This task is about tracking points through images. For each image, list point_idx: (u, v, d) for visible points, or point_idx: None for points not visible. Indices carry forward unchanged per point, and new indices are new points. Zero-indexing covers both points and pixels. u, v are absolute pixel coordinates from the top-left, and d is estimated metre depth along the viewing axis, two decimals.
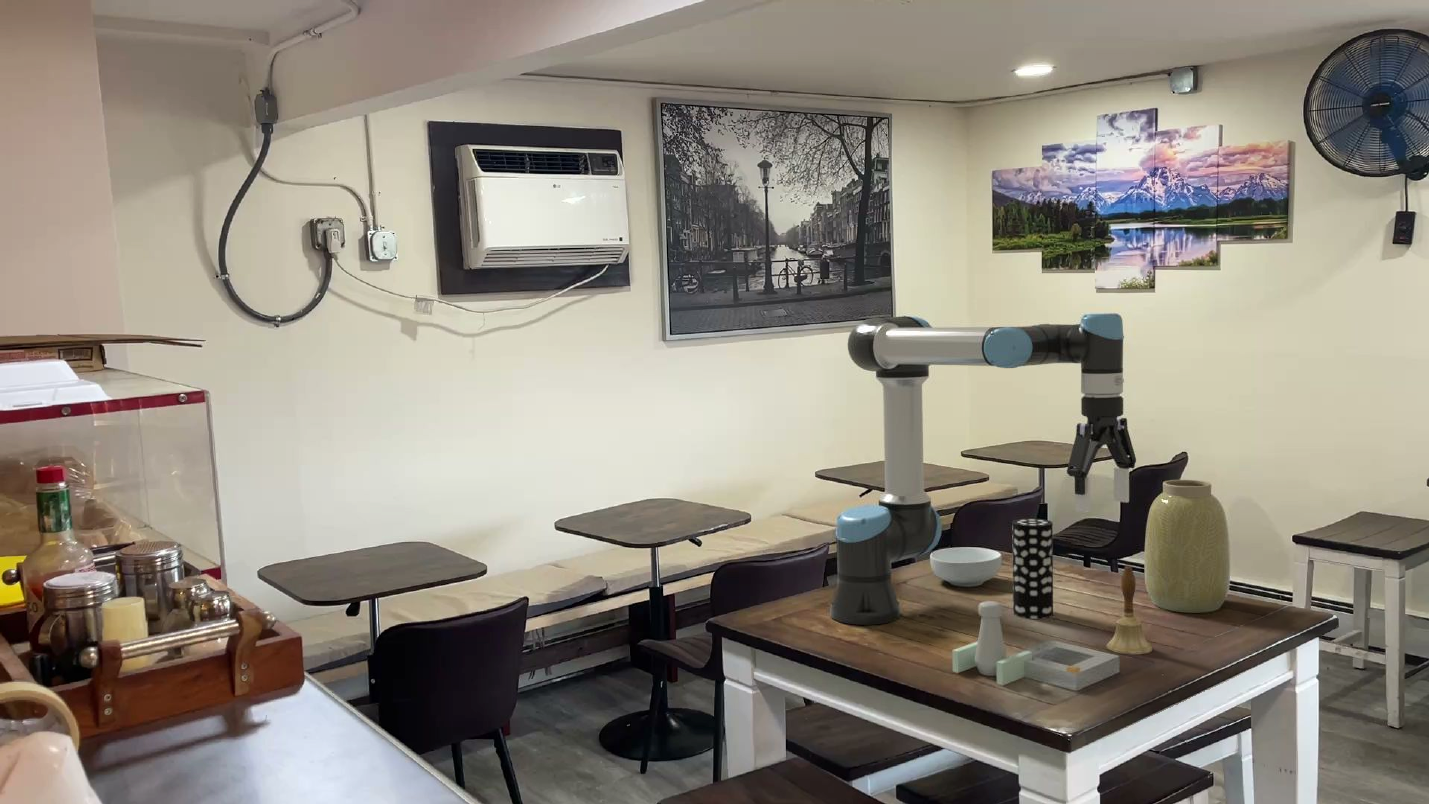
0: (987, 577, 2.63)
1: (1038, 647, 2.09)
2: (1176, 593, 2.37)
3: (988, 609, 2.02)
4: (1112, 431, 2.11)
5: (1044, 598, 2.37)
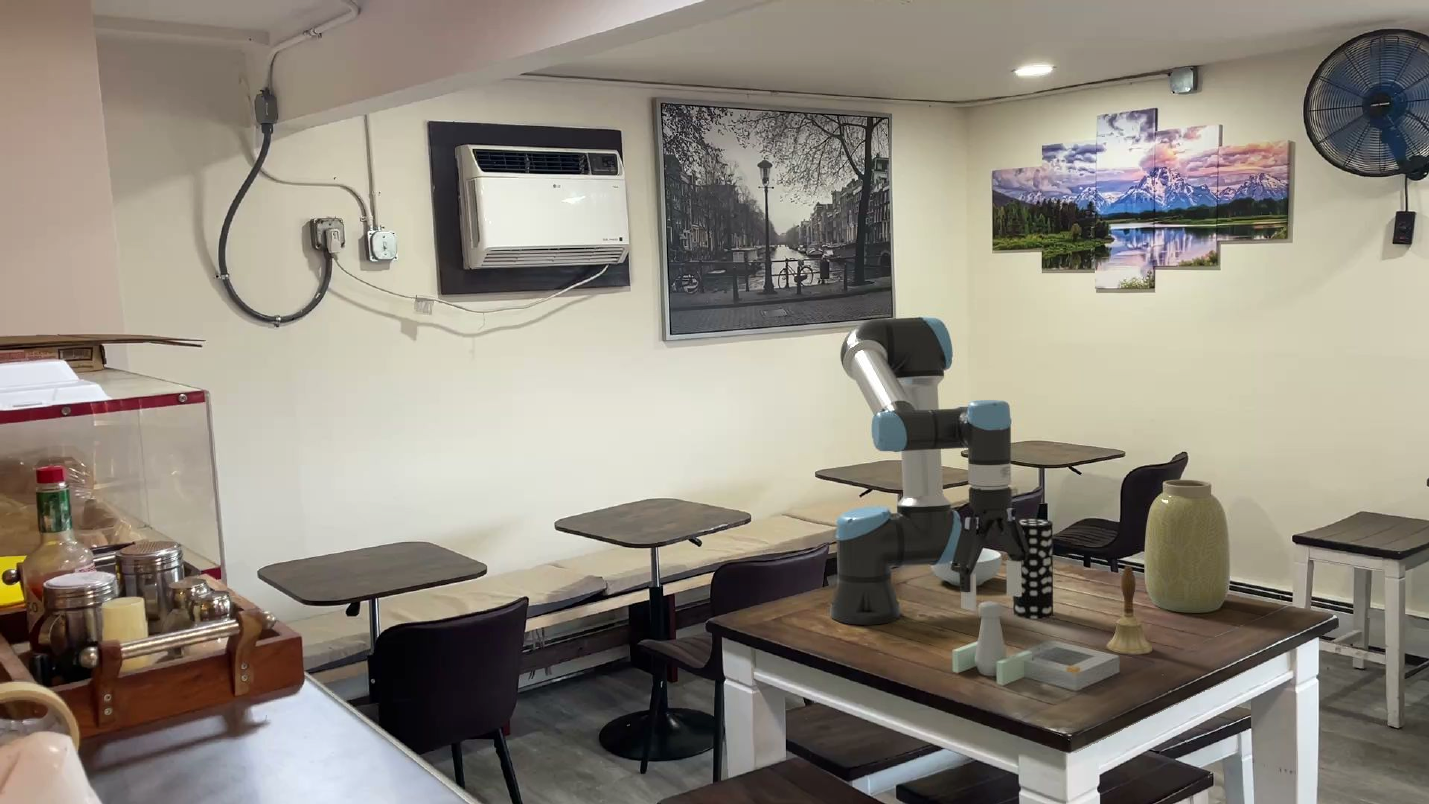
0: (987, 577, 2.63)
1: (1038, 647, 2.09)
2: (1176, 593, 2.37)
3: (988, 609, 2.02)
4: (1000, 524, 2.01)
5: (1044, 598, 2.37)
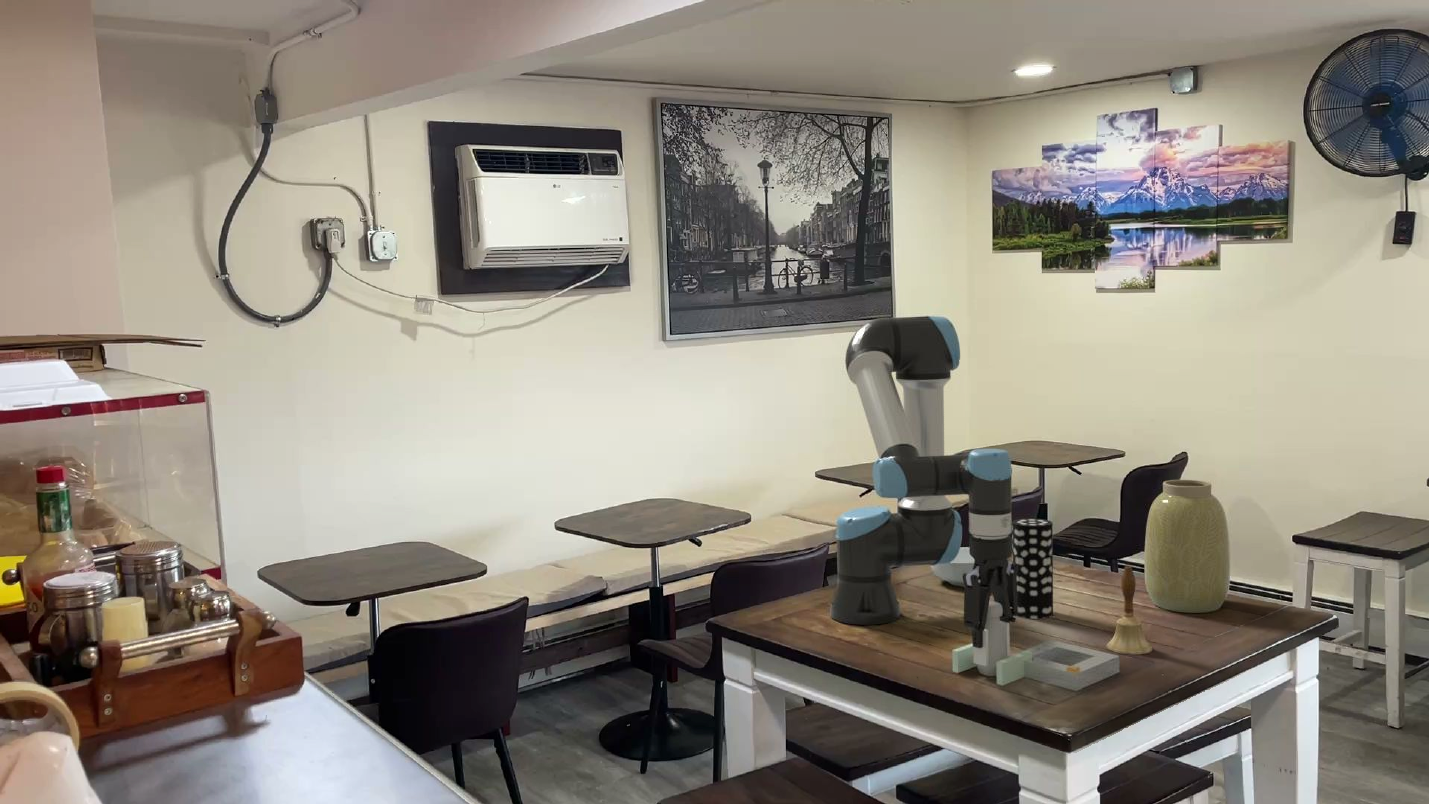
0: None
1: (1038, 647, 2.09)
2: (1176, 593, 2.37)
3: (989, 609, 2.02)
4: (1000, 571, 2.02)
5: (1044, 598, 2.37)
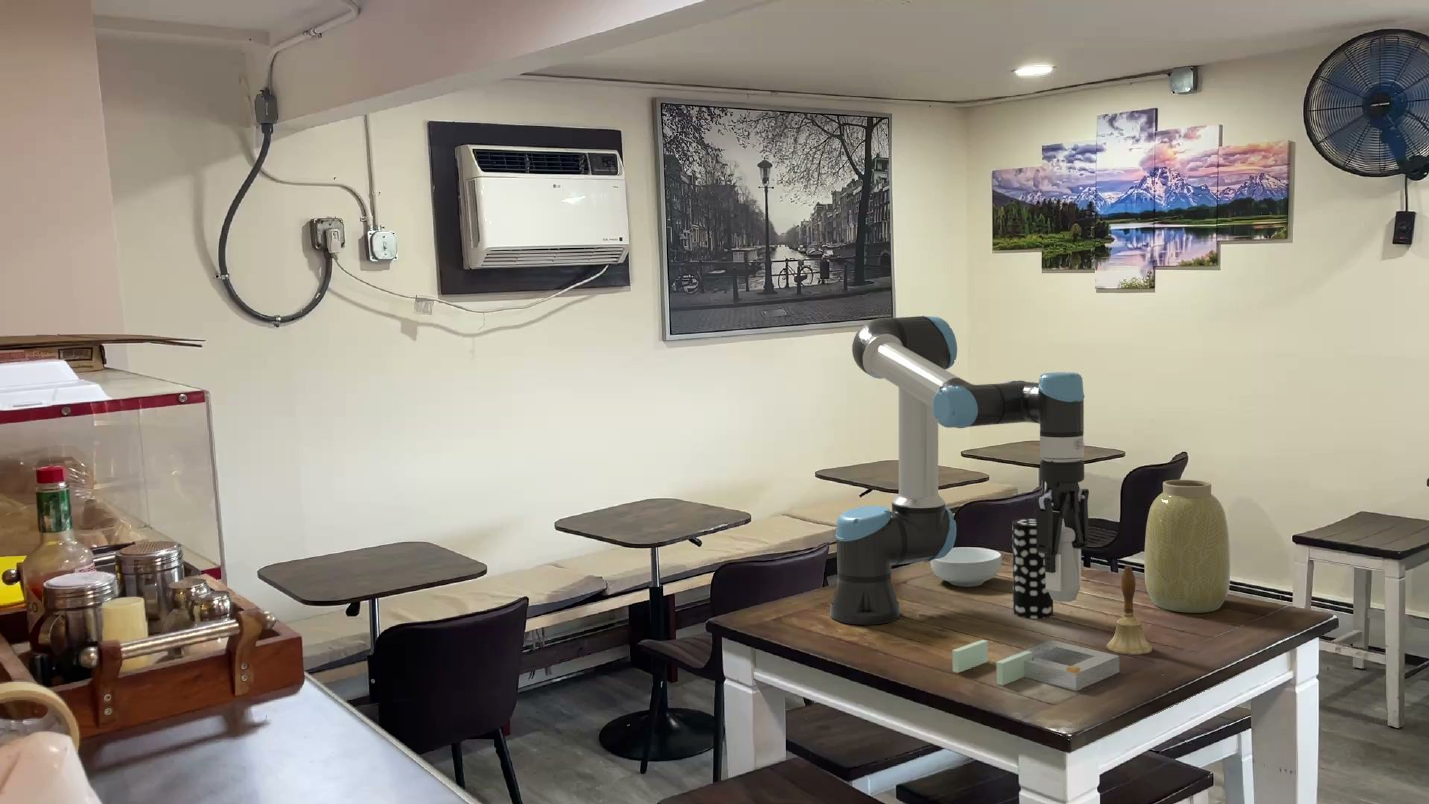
0: (987, 577, 2.63)
1: (1038, 647, 2.09)
2: (1176, 593, 2.37)
3: (1061, 533, 1.99)
4: (1072, 496, 2.00)
5: (1044, 598, 2.37)
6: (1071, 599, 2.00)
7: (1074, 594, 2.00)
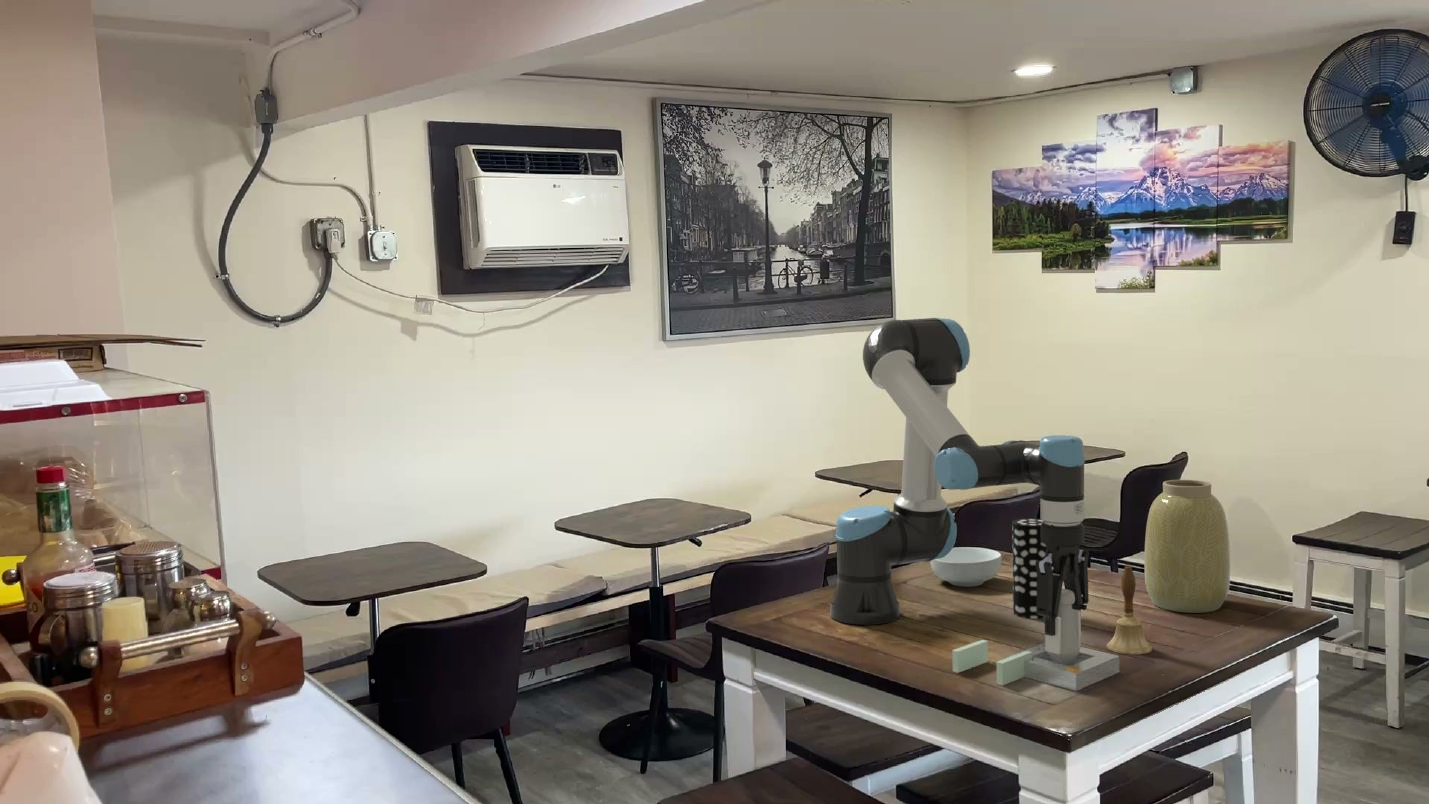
0: (987, 577, 2.63)
1: (1038, 647, 2.09)
2: (1176, 593, 2.37)
3: (1061, 596, 2.00)
4: (1072, 559, 2.01)
5: None
6: (1071, 661, 2.01)
7: (1074, 657, 2.01)
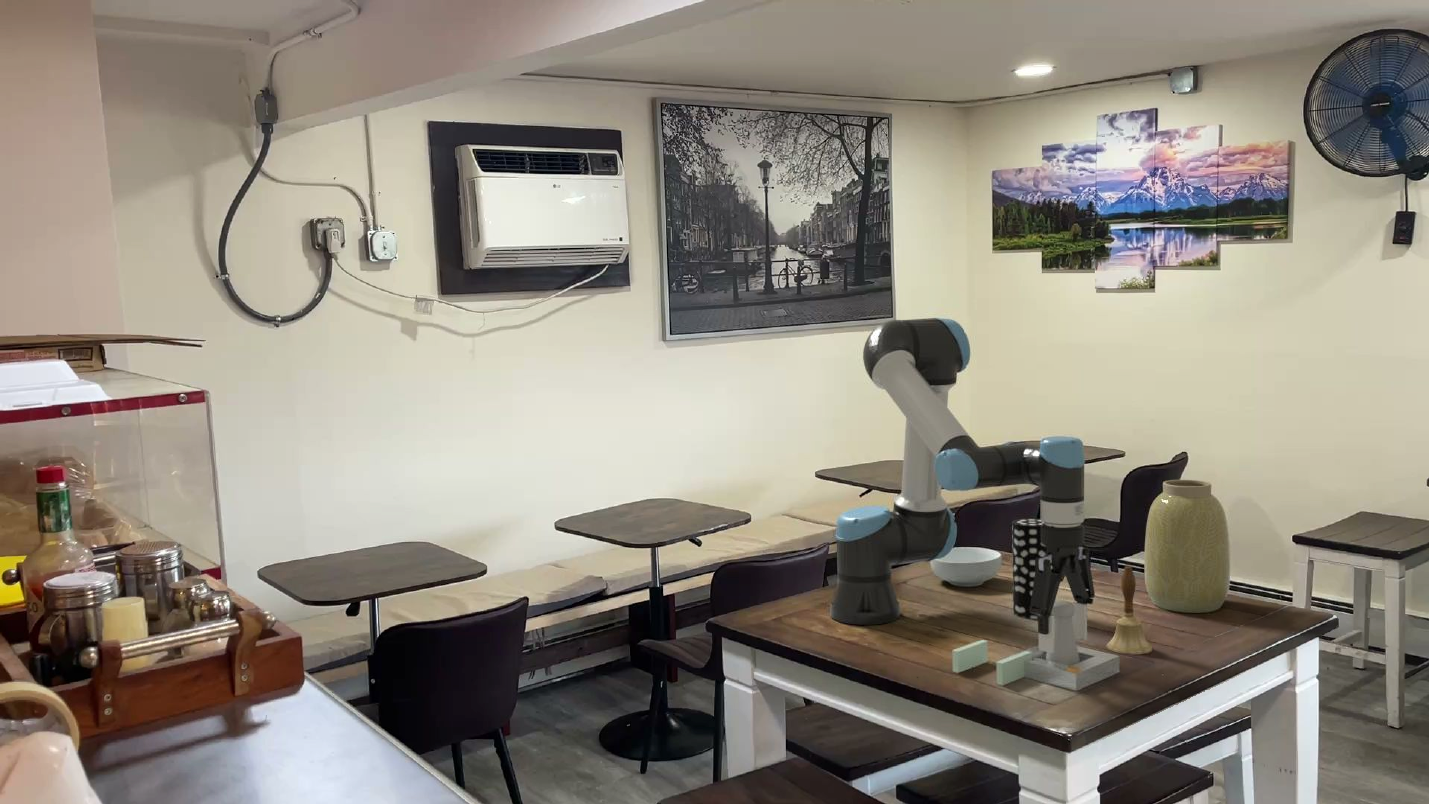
0: (987, 577, 2.63)
1: (1038, 647, 2.09)
2: (1176, 593, 2.37)
3: (1061, 608, 2.01)
4: (1073, 560, 2.01)
5: None
6: None
7: None
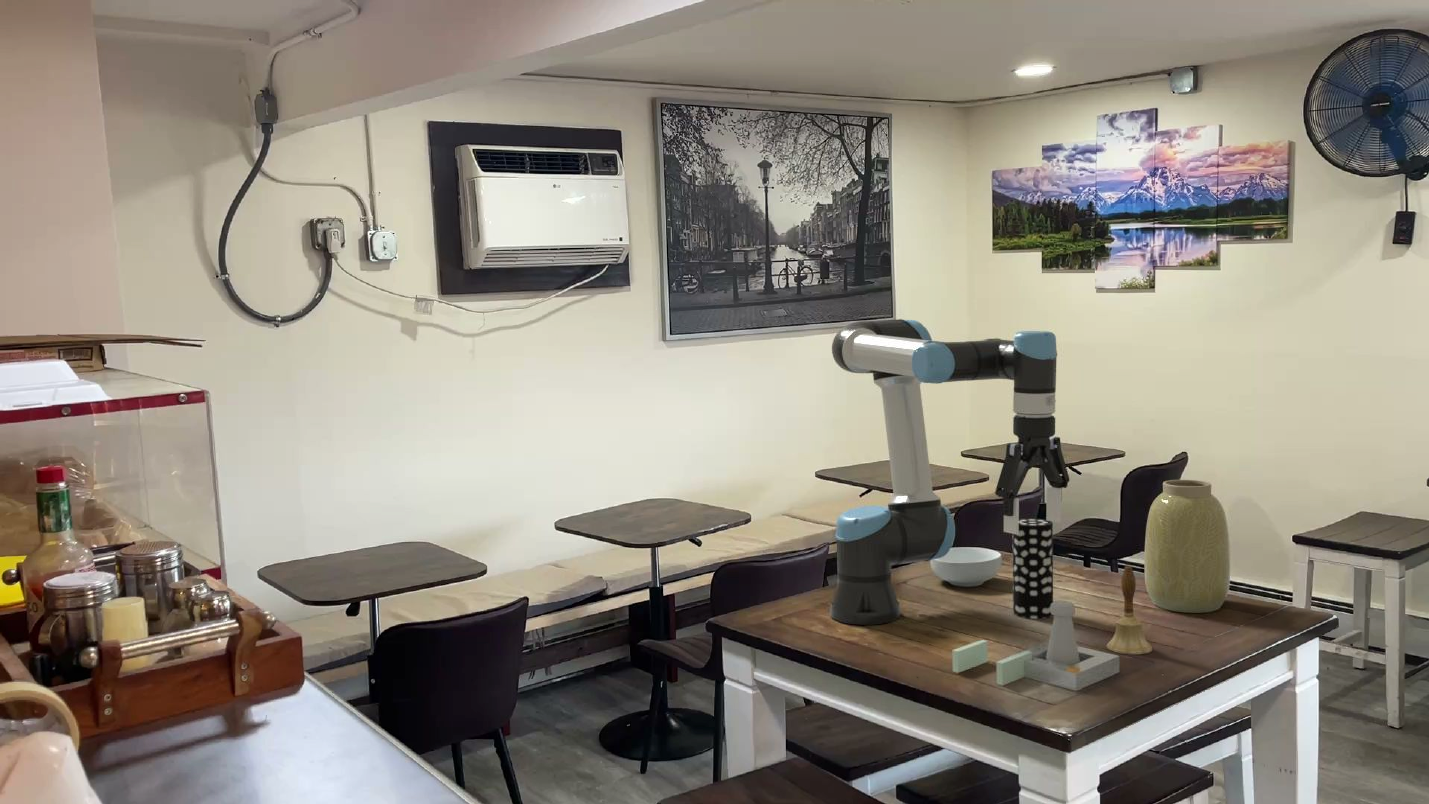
0: (987, 577, 2.63)
1: (1038, 647, 2.09)
2: (1176, 593, 2.37)
3: (1061, 608, 2.01)
4: (1043, 451, 2.08)
5: (1044, 598, 2.37)
6: None
7: None
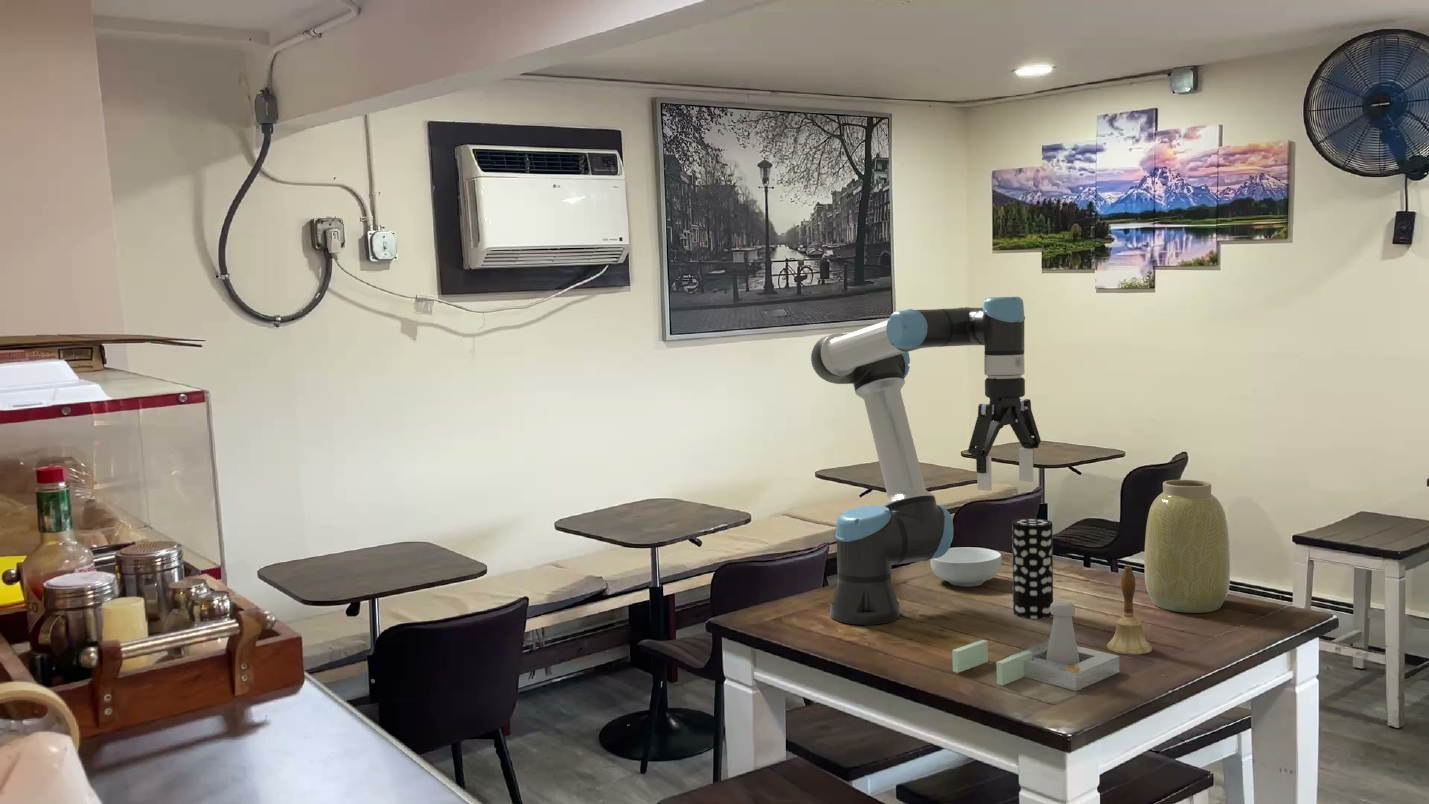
0: (987, 577, 2.63)
1: (1038, 647, 2.09)
2: (1176, 593, 2.37)
3: (1061, 608, 2.01)
4: (1014, 411, 2.16)
5: (1044, 598, 2.37)
6: None
7: None
